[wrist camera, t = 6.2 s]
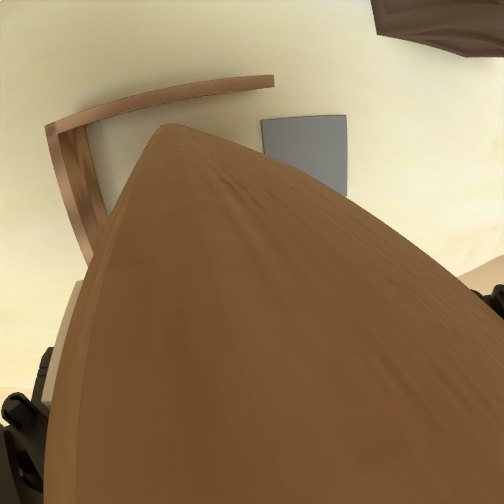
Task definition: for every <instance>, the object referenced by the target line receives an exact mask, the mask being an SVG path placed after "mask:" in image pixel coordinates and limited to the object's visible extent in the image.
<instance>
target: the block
mask: <svg viewBox="0 0 504 504" xmlns="http://www.w3.org/2000/svg"><path fill="white" fill-rule="evenodd" d="M44 504H504V320H503V319H502V318H501V317H500V316H499V315H498V314H497V313H496V312H495V311H494V310H492V309H491V308H490V307H489V306H488V305H487V304H486V303H485V302H484V301H483V300H481V299H480V298H479V297H478V296H477V295H476V294H475V293H474V292H472V291H471V290H470V289H469V288H468V287H467V286H465V285H464V284H463V283H462V282H461V281H460V280H458V279H457V278H456V277H455V276H454V275H452V274H451V273H450V272H449V271H447V270H446V269H445V268H444V267H443V266H441V265H440V264H439V263H438V262H436V261H435V260H434V259H432V258H431V257H430V256H429V255H427V254H426V253H425V252H423V251H422V250H421V249H419V248H418V247H417V246H415V245H414V244H413V243H411V242H410V241H409V240H407V239H406V238H405V237H403V236H402V235H400V234H399V233H398V232H396V231H395V230H393V229H392V228H391V227H389V226H388V225H386V224H385V223H384V222H382V221H381V220H379V219H378V218H376V217H375V216H373V215H372V214H370V213H369V212H367V211H366V210H364V209H363V208H361V207H360V206H358V205H357V204H355V203H354V202H352V201H351V200H349V199H348V198H346V197H344V196H343V195H341V194H340V193H338V192H336V191H335V190H333V189H332V188H330V187H328V186H327V185H325V184H323V183H322V182H320V181H318V180H317V179H315V178H313V177H312V176H310V175H308V174H307V173H305V172H303V171H302V170H300V169H298V168H296V167H293V166H291V165H289V164H286V163H284V162H281V161H279V160H276V159H274V158H271V157H269V156H266V155H264V154H261V153H259V152H256V151H254V150H251V149H248V148H246V147H243V146H240V145H238V144H235V143H232V142H229V141H226V140H224V139H221V138H218V137H215V136H212V135H209V134H206V133H203V132H200V131H197V130H194V129H191V128H188V127H185V126H181V125H178V124H168V125H162V126H161V127H160V128H159V129H158V130H157V131H156V133H155V134H154V135H153V136H152V138H151V140H150V141H149V143H148V145H147V146H146V148H145V150H144V151H143V153H142V155H141V157H140V159H139V160H138V162H137V164H136V166H135V168H134V169H133V171H132V173H131V175H130V177H129V179H128V181H127V183H126V185H125V186H124V188H123V190H122V192H121V194H120V196H119V198H118V201H117V203H116V205H115V207H114V209H113V211H112V213H111V215H110V217H109V220H108V222H107V224H106V226H105V228H104V231H103V233H102V235H101V238H100V240H99V242H98V245H97V247H96V250H95V252H94V255H93V257H92V260H91V262H90V265H89V267H88V270H87V273H86V275H85V278H84V281H83V284H82V287H81V289H80V292H79V295H78V298H77V301H76V304H75V307H74V311H73V314H72V317H71V320H70V324H69V327H68V331H67V334H66V338H65V342H64V346H63V349H62V353H61V358H60V362H59V366H58V371H57V375H56V380H55V385H54V390H53V396H52V401H51V408H50V414H49V421H48V429H47V438H46V448H45V462H44Z"/></svg>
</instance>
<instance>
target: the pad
mask: <svg viewBox="0 0 504 504" xmlns="http://www.w3.org/2000/svg"><path fill="white" fill-rule="evenodd" d="M261 131H262V141H263V151H264V155H266V156H269V157H271V158H274V159H276V160H279V161H281V162H284V163H286V164H289V165H291V166H293V167H296V168H298V169H300V170H302V171H303V172H305V173H307V174H308V175H310V176H312V177H313V178H315V179H317V180H318V181H320V182H322V183H323V184H325V185H327V186H328V187H330V188H332V189H333V190H335V191H336V192H338V193H340V194H341V195H343V196H344V197H346V196H347V120H346V115H328V116H307V117H293V118H281V119H270V120H261Z"/></svg>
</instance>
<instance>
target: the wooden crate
mask: <svg viewBox="0 0 504 504" xmlns="http://www.w3.org/2000/svg"><path fill="white" fill-rule="evenodd" d="M370 1H371V5H372V10H373V15H374V20H375V26H376V32H377V35H382V36H388V37H393V38H398V39H403V40H407V41H412V42H416V43H420V44H424V45H428V46H431V47H435V48H439V49H442V50H445V51H448V52H452V53H455V54H458V55H461V56H463V57H466V58H467V57H504V0H370Z"/></svg>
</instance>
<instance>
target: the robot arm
mask: <svg viewBox="0 0 504 504" xmlns="http://www.w3.org/2000/svg"><path fill="white" fill-rule="evenodd" d="M83 281H84V280H81V281H77V282H76V284H75V286H74V289H73V291H72V294H71V297H70V300H69V302H68V305H67V308H66V311H65V314H64V317H63V320H62V323H61V326H60V329H59V332H58V335H57V339H56V342H55V346H54V347H49V348H48V349H47V350H46V352H45V353H44V355H43V356H42V359H41V362H40V366H39V368H40V369H39V370H38V373H37V377H36V381H35V385H34V390H33V394H32V399H31V401H30V400H28V398H27V397H26V396H25V395H24V394H22V393H19V392H16V393H13V394H11V395H9V396H8V397H7V398H6V399H5V401H4V403H3V405H2V410H1V414H2V418H3V419H4V420H5V421H7V422H8V423H9V424H10V425H9V426H5V427H4V426H3V425H2V424H0V504H44V462H45V448H46V438H47V429H48V421H49V414H50V408H51V401H52V396H53V390H54V385H55V380H56V375H57V371H58V366H59V362H60V358H61V353H62V349H63V346H64V342H65V338H66V334H67V331H68V327H69V324H70V320H71V317H72V314H73V311H74V307H75V304H76V301H77V298H78V295H79V292H80V289H81V287H82V284H83ZM470 290H471V291H472V292H474V293H475V294H476V295H477V296H478V297H479V298H480V299H481V300H483V301H484V302H485V303H486V304H487V305H488V306H489V307H490V308H491V309H492V310H494V311H495V312H496V313H497V314H498V315H499V316H500V317H501V318H502V319H503V320H504V285H501V284H499V285H496V286H495V287H494V289H493V291H492V294H491V295H485V296H482V295H481V294H480V293H479V292H477V291H475V290H472V289H470Z"/></svg>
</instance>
